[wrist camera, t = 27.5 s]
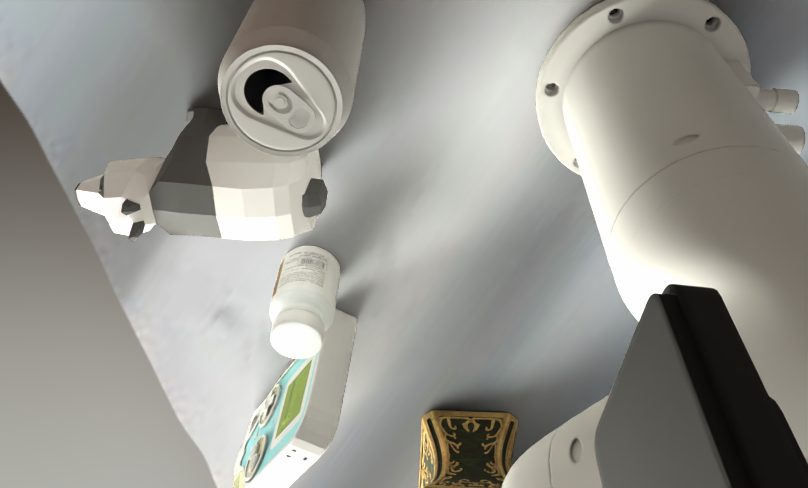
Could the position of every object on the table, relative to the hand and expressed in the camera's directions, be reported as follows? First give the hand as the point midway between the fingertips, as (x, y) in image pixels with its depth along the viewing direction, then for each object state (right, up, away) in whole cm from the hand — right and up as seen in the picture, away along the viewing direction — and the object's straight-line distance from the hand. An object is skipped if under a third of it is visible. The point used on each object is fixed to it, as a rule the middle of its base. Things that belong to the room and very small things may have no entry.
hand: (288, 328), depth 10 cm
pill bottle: (-5, -1, +46) cm, 46 cm away
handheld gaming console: (-7, -9, +52) cm, 54 cm away
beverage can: (-4, +15, +35) cm, 38 cm away
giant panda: (-9, +8, +40) cm, 42 cm away
